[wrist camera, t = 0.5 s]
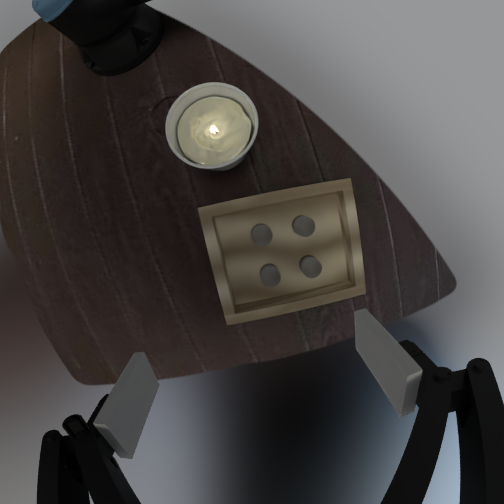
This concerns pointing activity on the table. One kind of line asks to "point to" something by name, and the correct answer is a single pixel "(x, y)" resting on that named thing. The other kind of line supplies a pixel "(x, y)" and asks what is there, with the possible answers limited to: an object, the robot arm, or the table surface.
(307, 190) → the peg frame
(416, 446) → the robot arm
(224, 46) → the table surface
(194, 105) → the candle holder
